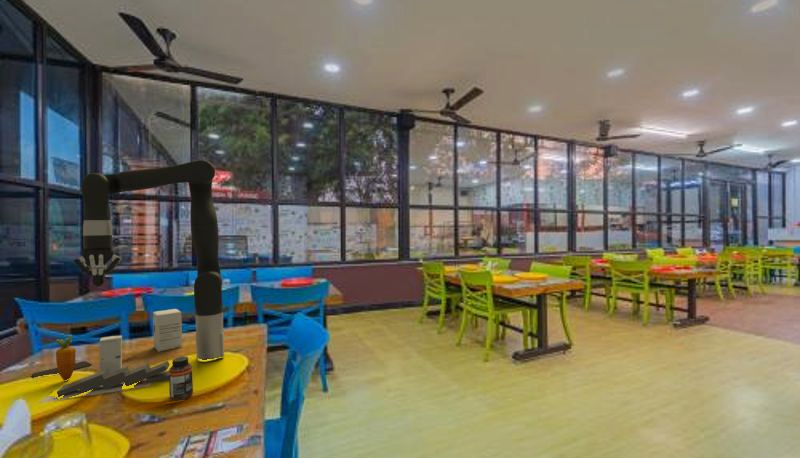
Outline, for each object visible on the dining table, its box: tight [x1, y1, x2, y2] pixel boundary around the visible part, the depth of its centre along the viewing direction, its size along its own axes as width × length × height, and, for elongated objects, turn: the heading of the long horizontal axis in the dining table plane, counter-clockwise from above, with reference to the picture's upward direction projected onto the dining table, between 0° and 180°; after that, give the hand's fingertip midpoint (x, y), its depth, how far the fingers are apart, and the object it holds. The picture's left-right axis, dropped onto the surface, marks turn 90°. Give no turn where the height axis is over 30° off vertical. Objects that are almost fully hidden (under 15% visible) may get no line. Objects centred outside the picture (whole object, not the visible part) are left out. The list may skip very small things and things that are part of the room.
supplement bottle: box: [168, 355, 194, 401], centre depth 110 cm, size 6×6×11 cm
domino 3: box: [124, 360, 170, 386], centre depth 121 cm, size 2×5×12 cm
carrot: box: [55, 334, 77, 381], centre depth 123 cm, size 5×5×15 cm
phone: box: [31, 360, 92, 378], centre depth 133 cm, size 7×1×15 cm
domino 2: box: [103, 363, 151, 390], centre depth 119 cm, size 2×5×12 cm
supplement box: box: [152, 308, 183, 353], centre depth 158 cm, size 9×9×15 cm
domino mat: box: [38, 379, 152, 404], centre depth 117 cm, size 27×10×1 cm, turn 112°
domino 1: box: [80, 366, 131, 393], centre depth 117 cm, size 2×5×12 cm
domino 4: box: [146, 370, 169, 384], centre depth 123 cm, size 2×5×12 cm
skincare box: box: [99, 334, 123, 373], centre depth 131 cm, size 6×4×12 cm
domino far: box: [57, 369, 109, 397], centre depth 115 cm, size 2×5×12 cm
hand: (99, 286), depth 124 cm, fingers closed
